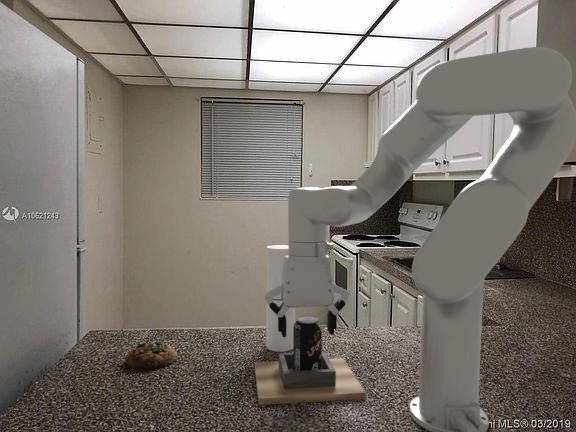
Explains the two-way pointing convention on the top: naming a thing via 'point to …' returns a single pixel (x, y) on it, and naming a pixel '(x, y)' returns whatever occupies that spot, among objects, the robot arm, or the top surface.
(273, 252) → the cylindrical container
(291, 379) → the board
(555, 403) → the top surface
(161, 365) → the bread roll
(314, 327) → the beverage can
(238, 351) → the top surface
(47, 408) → the top surface
